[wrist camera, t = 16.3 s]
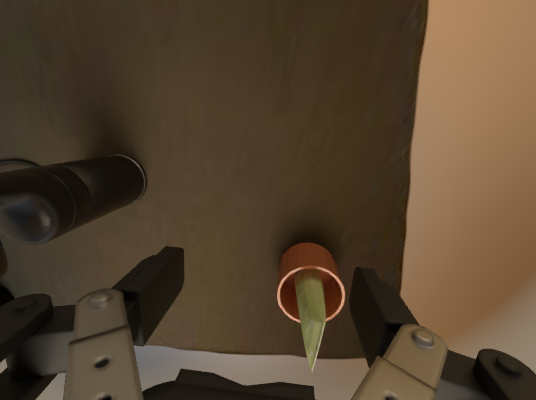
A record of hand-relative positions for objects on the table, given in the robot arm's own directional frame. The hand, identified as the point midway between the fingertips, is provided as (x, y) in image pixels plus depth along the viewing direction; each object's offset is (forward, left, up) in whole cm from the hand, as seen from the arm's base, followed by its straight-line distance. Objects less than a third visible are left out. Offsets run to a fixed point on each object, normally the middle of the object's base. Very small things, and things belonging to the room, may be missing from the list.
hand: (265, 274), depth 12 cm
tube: (+6, -19, -36) cm, 41 cm away
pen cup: (+6, -20, -36) cm, 42 cm away
